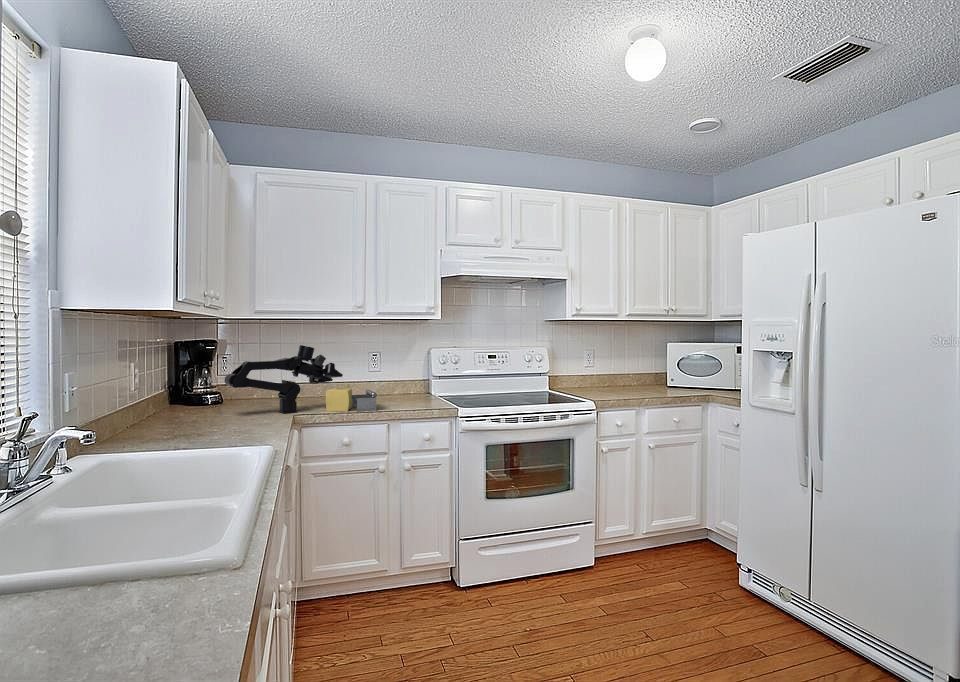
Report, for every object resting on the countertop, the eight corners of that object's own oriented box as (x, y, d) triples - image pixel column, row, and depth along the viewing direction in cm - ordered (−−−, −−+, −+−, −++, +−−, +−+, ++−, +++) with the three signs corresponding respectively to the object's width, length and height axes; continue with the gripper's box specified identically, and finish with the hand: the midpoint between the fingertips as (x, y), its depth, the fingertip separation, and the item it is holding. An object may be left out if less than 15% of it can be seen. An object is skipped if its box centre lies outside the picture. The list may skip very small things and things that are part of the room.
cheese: (330, 408, 283) (330, 387, 283) (353, 408, 283) (353, 387, 283) (325, 411, 272) (325, 390, 272) (348, 411, 272) (348, 390, 272)
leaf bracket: (357, 411, 272) (357, 393, 272) (350, 407, 288) (350, 389, 288) (377, 410, 276) (377, 392, 276) (369, 406, 292) (369, 389, 291)
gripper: (320, 348, 271) (349, 357, 281) (300, 358, 284) (329, 366, 294) (317, 371, 267) (347, 379, 277) (297, 380, 280) (326, 388, 289)
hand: (337, 377), depth 284 cm, fingers open, 9 cm apart
